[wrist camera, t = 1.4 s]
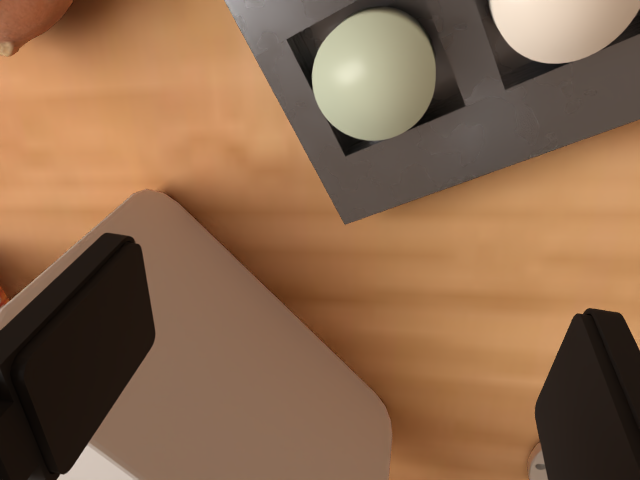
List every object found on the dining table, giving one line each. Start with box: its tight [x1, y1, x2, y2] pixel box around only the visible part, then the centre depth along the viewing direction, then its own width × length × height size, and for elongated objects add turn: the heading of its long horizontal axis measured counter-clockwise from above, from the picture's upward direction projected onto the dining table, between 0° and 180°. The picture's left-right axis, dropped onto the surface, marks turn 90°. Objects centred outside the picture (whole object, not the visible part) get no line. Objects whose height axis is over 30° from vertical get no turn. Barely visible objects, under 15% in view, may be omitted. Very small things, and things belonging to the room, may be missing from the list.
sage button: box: [312, 6, 436, 141], centre depth 26 cm, size 6×6×3 cm
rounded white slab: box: [0, 189, 392, 480], centre depth 35 cm, size 29×8×18 cm, turn 43°
